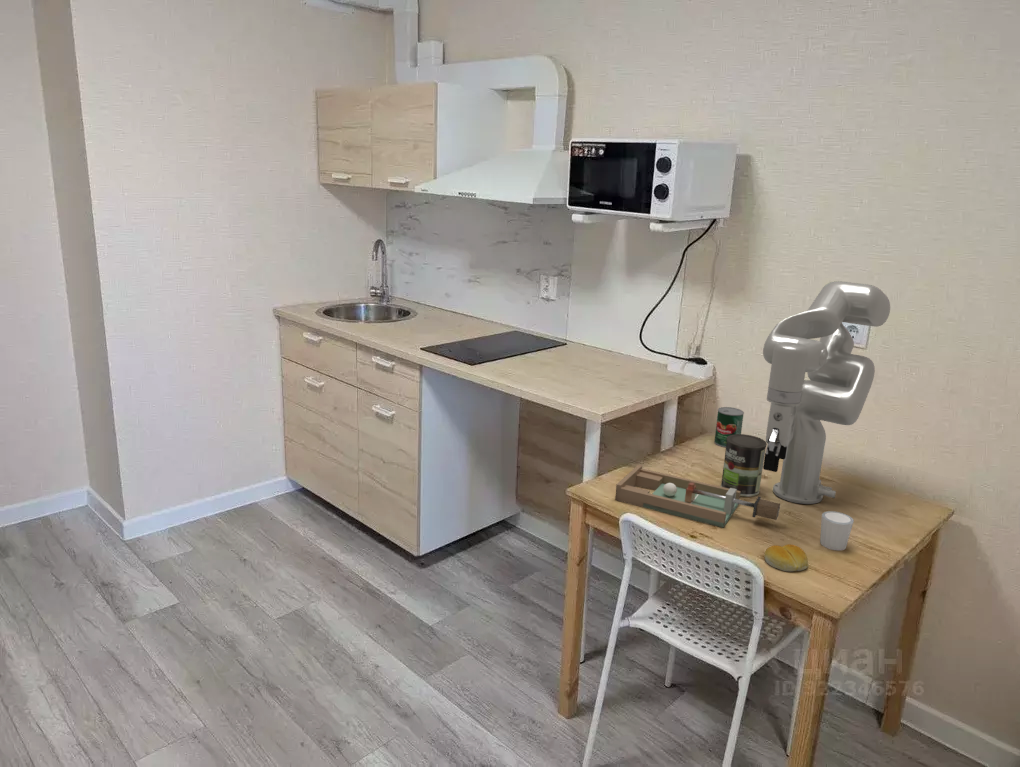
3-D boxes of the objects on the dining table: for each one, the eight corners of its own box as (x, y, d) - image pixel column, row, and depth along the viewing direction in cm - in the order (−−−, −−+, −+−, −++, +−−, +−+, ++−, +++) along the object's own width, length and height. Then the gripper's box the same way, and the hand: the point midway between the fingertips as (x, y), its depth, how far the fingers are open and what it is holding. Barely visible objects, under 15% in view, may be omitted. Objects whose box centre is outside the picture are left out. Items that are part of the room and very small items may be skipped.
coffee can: (742, 500, 195) (748, 449, 191) (712, 485, 203) (718, 437, 199) (768, 492, 200) (775, 443, 196) (738, 478, 209) (744, 431, 205)
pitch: (738, 504, 192) (741, 481, 191) (723, 527, 179) (726, 504, 177) (636, 479, 205) (638, 458, 204) (615, 500, 192) (617, 477, 190)
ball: (677, 495, 194) (679, 482, 193) (673, 499, 191) (675, 487, 190) (665, 491, 195) (666, 479, 194) (660, 496, 192) (661, 484, 191)
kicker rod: (778, 517, 182) (781, 500, 181) (775, 524, 178) (777, 507, 177) (689, 495, 193) (691, 479, 191) (684, 502, 189) (685, 486, 187)
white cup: (812, 537, 176) (816, 510, 174) (839, 537, 176) (844, 510, 174) (825, 551, 169) (830, 524, 167) (854, 551, 170) (859, 524, 168)
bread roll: (757, 555, 167) (760, 539, 166) (795, 553, 168) (797, 538, 167) (774, 574, 159) (777, 557, 158) (813, 572, 160) (816, 556, 159)
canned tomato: (739, 441, 239) (743, 408, 235) (740, 449, 231) (744, 416, 228) (714, 438, 241) (718, 405, 237) (713, 446, 233) (717, 413, 230)
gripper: (794, 407, 164) (783, 479, 168) (807, 390, 178) (796, 456, 183) (759, 401, 167) (750, 472, 172) (774, 384, 182) (765, 450, 186)
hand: (774, 464), depth 177 cm, fingers open, 9 cm apart
